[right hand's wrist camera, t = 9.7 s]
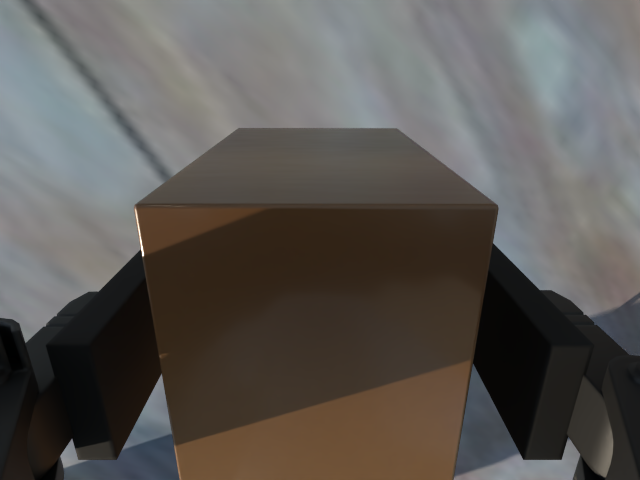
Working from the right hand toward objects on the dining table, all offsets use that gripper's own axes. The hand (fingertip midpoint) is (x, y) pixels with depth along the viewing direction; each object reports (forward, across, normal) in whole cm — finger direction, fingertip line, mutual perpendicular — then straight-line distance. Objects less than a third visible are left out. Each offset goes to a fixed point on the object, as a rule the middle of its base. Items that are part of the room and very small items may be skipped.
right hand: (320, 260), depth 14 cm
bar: (+1, 0, -7) cm, 7 cm away
